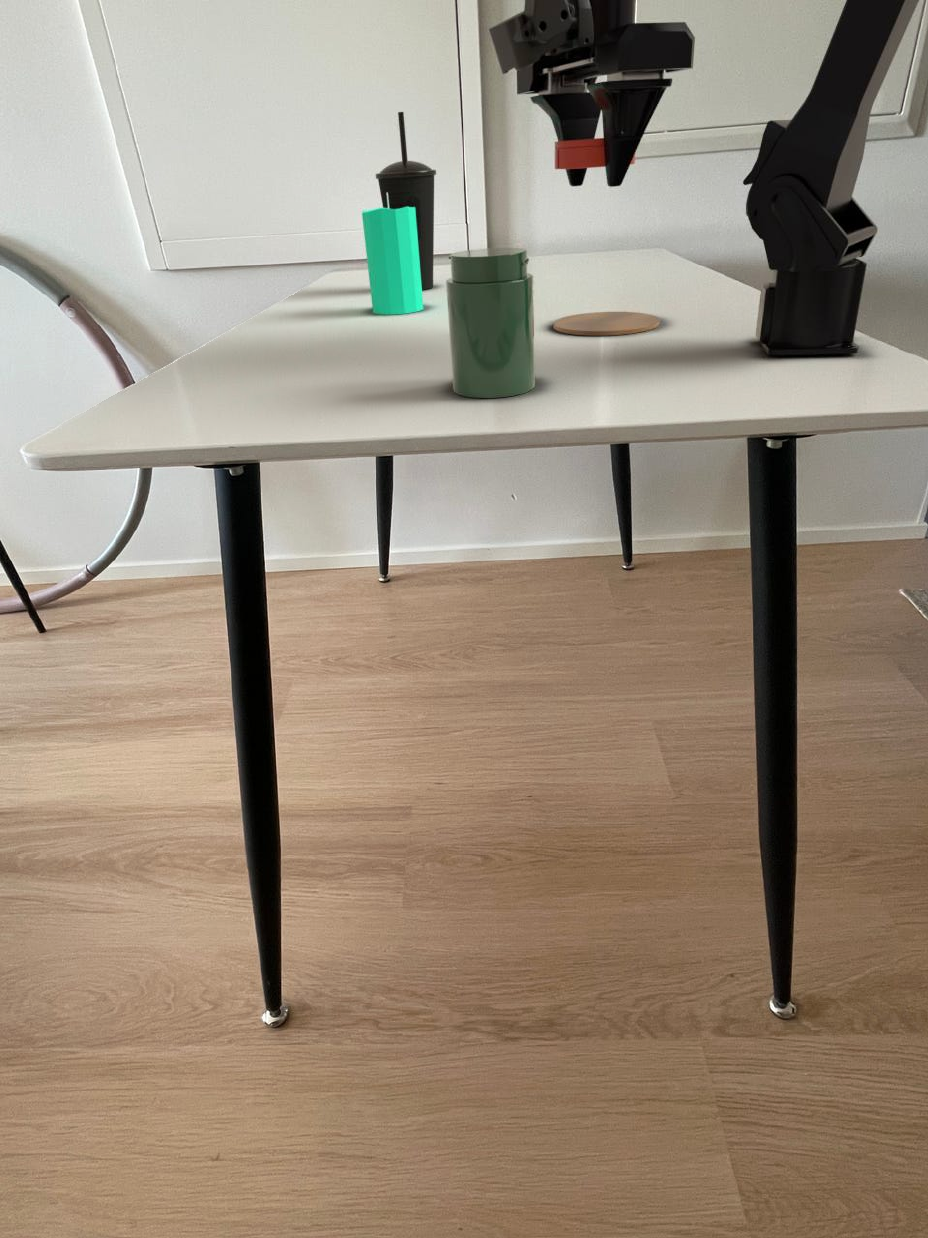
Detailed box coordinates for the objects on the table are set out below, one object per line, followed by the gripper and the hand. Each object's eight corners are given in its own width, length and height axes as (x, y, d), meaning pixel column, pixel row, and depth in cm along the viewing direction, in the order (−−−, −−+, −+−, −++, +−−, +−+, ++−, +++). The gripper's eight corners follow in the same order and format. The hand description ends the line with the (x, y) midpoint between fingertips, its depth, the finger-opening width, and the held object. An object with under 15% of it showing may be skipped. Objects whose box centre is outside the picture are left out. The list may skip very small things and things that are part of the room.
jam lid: (574, 168, 63) (574, 139, 62) (541, 169, 69) (541, 142, 68) (649, 162, 65) (651, 134, 64) (611, 163, 70) (612, 137, 69)
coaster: (657, 314, 80) (657, 309, 79) (660, 334, 71) (661, 329, 71) (557, 317, 81) (557, 313, 81) (549, 337, 73) (549, 332, 73)
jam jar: (538, 376, 60) (537, 245, 56) (530, 397, 55) (527, 254, 51) (461, 378, 61) (453, 249, 57) (446, 398, 56) (436, 259, 52)
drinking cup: (454, 284, 107) (444, 109, 97) (422, 293, 102) (407, 108, 92) (409, 283, 111) (394, 114, 101) (375, 291, 106) (356, 114, 96)
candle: (416, 313, 89) (406, 191, 83) (365, 315, 90) (351, 195, 84) (429, 304, 94) (420, 189, 88) (381, 306, 95) (368, 192, 89)
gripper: (456, -23, 65) (467, 192, 73) (557, -86, 50) (558, 194, 58) (577, -24, 68) (575, 183, 76) (708, -83, 53) (689, 183, 61)
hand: (594, 186), depth 68 cm, fingers closed on jam lid, 6 cm apart
